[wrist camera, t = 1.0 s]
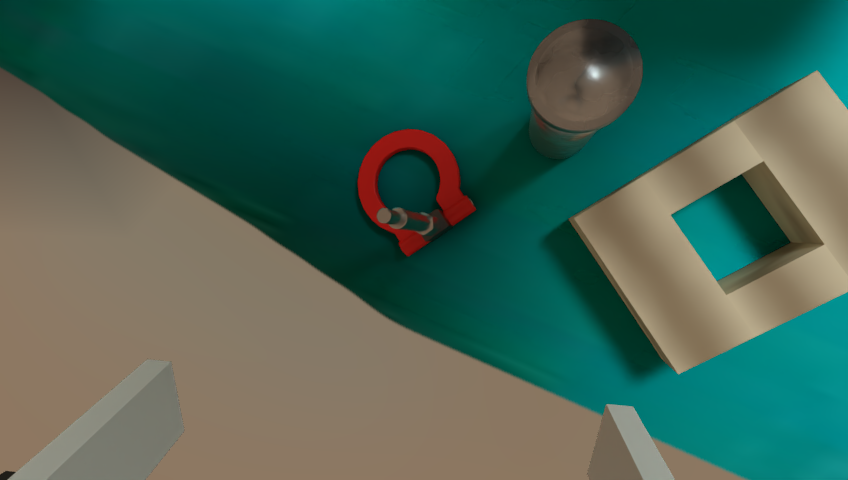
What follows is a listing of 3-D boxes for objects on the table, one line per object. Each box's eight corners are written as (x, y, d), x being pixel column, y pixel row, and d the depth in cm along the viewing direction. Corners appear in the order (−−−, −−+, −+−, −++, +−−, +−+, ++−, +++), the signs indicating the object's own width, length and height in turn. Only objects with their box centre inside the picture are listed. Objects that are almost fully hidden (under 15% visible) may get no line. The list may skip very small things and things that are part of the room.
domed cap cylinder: (570, 79, 30) (601, -4, 19) (611, 137, 29) (666, 85, 18) (510, 121, 31) (506, 65, 20) (547, 178, 30) (565, 151, 19)
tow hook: (345, 172, 34) (402, 263, 33) (241, 132, 22) (326, 275, 20) (424, 112, 33) (488, 204, 31) (360, 29, 20) (462, 178, 19)
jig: (784, 87, 27) (817, 70, 24) (899, 240, 25) (949, 242, 22) (568, 218, 30) (573, 218, 27) (661, 359, 29) (678, 374, 26)
